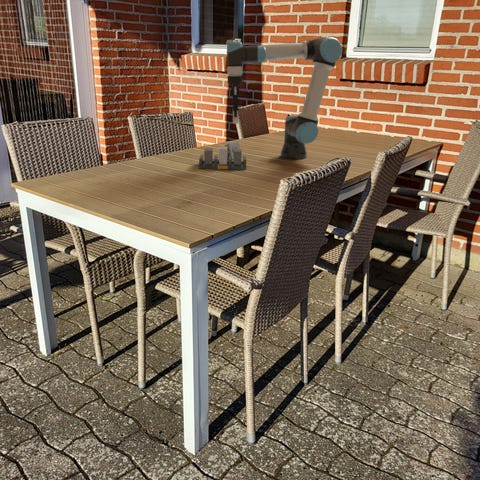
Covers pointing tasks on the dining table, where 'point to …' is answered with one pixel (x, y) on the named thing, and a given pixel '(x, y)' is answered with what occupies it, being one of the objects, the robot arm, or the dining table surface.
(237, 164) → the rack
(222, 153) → the grey block
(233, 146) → the electrical switch
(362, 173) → the dining table surface
